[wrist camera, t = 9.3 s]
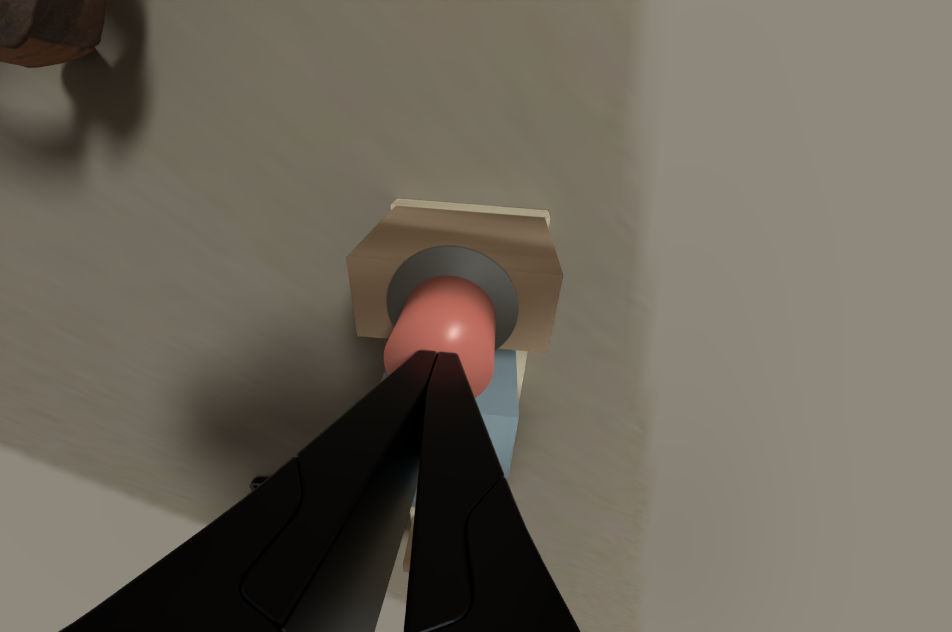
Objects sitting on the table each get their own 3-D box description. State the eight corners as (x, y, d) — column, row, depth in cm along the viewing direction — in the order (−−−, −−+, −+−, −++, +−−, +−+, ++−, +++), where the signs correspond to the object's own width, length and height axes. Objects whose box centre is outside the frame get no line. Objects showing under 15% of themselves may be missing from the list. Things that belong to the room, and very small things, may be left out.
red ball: (491, 356, 10) (489, 409, 8) (407, 348, 10) (387, 400, 8) (500, 280, 9) (499, 324, 7) (403, 271, 9) (379, 313, 7)
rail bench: (497, 517, 26) (494, 623, 21) (414, 509, 26) (391, 612, 21) (549, 196, 14) (576, 257, 9) (396, 184, 14) (333, 237, 9)
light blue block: (502, 395, 18) (501, 516, 13) (418, 387, 18) (384, 504, 13) (514, 309, 15) (518, 417, 10) (415, 300, 15) (371, 403, 10)
